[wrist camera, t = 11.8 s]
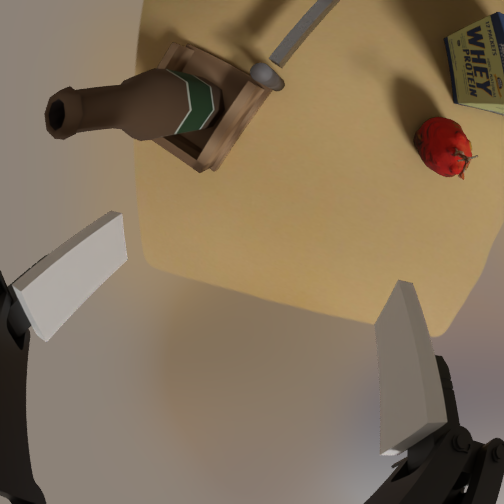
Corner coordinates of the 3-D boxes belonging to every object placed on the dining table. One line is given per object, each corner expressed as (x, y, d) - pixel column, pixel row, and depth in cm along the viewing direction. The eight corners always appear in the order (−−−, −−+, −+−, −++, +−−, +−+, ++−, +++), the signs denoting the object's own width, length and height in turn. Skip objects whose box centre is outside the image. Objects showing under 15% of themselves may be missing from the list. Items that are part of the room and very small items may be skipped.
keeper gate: (330, -5, 18) (330, -21, 14) (339, 1, 18) (341, -15, 14) (272, 62, 24) (264, 54, 20) (281, 68, 24) (275, 60, 20)
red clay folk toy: (450, 172, 29) (507, 207, 17) (409, 166, 31) (456, 198, 18) (453, 121, 26) (516, 131, 13) (410, 112, 28) (462, 113, 15)
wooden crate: (199, 34, 29) (161, 16, 20) (287, 82, 30) (275, 69, 21) (148, 122, 37) (103, 130, 28) (223, 173, 38) (192, 193, 29)
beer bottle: (170, 125, 35) (27, 161, 14) (182, 74, 31) (35, 63, 10) (219, 136, 34) (86, 181, 14) (234, 83, 30) (103, 54, 10)
